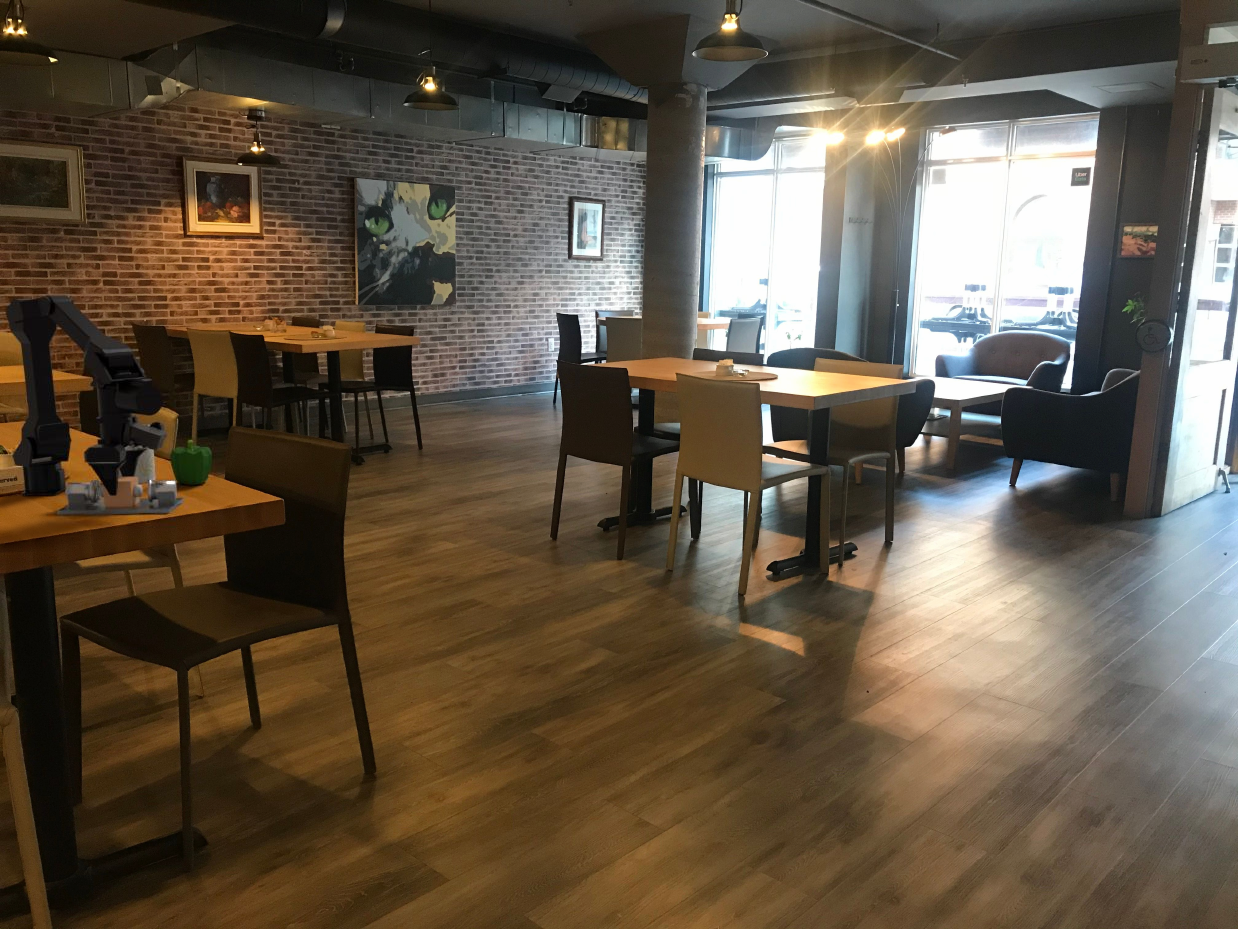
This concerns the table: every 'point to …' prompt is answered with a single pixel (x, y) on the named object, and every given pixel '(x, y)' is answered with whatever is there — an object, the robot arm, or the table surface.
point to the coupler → (123, 493)
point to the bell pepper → (191, 464)
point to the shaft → (162, 492)
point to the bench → (88, 502)
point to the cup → (145, 466)
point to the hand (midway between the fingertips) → (121, 490)
